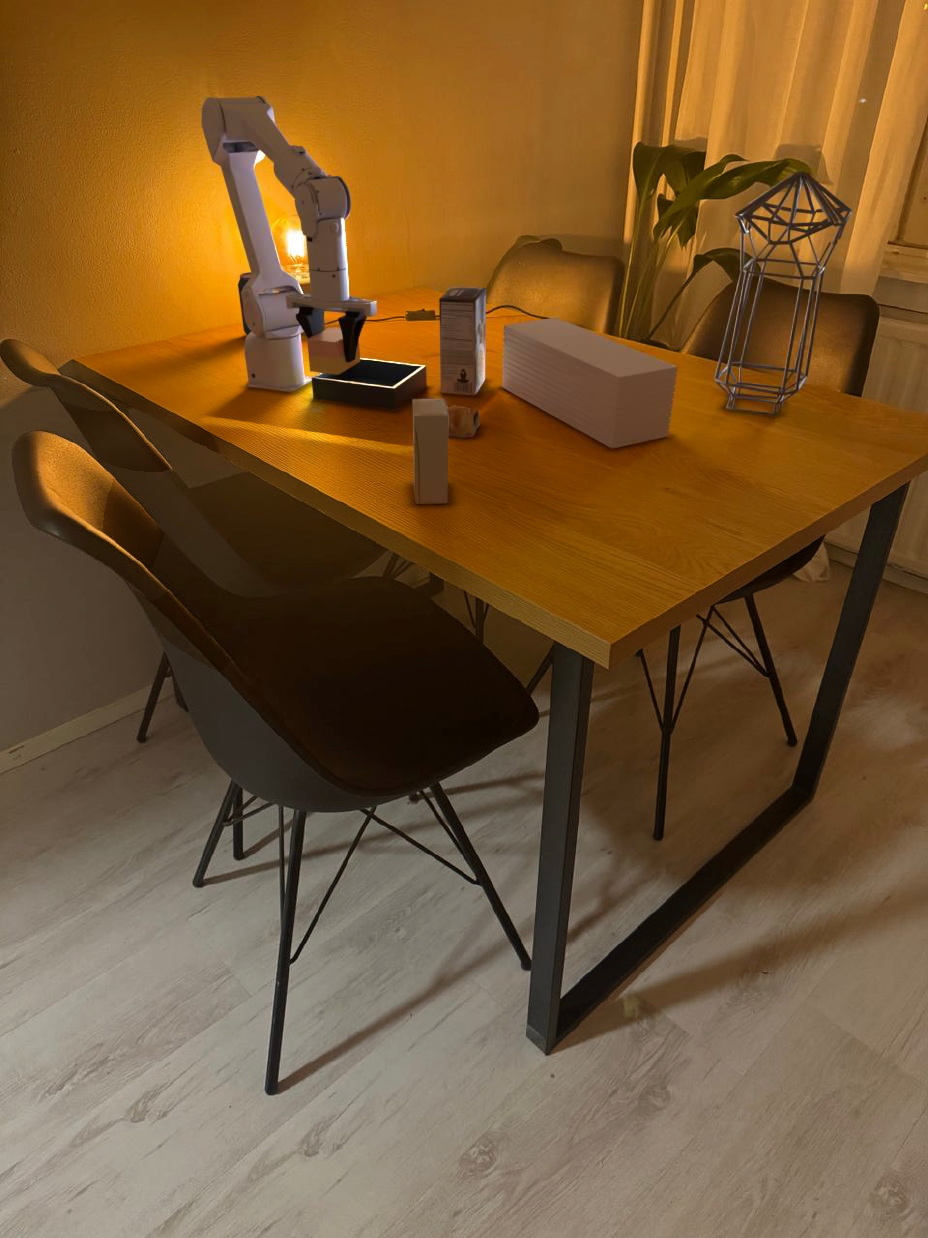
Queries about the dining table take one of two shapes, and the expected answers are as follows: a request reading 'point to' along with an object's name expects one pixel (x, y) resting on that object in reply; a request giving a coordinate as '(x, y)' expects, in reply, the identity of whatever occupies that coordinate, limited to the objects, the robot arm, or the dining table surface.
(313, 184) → the robot arm
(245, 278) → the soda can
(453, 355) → the coffee box
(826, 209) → the geometric lantern
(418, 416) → the cosmetic box
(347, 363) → the pink rectangular block
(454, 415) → the pastry
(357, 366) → the storage box
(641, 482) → the dining table surface
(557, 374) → the stack of papers
